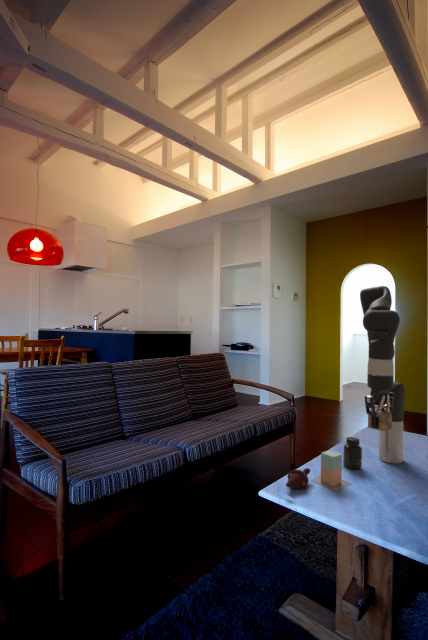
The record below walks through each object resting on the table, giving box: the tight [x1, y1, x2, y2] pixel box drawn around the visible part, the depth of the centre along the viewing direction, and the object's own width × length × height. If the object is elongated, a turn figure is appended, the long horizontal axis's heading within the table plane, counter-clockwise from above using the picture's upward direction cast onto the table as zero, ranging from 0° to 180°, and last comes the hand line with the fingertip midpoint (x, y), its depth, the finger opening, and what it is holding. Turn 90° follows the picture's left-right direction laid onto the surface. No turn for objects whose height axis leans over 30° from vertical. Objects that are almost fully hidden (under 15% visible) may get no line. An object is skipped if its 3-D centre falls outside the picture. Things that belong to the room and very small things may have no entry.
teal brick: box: [320, 449, 343, 472], centre depth 125 cm, size 5×5×5 cm
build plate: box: [310, 475, 352, 492], centre depth 125 cm, size 10×10×1 cm
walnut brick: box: [367, 410, 392, 431], centre depth 112 cm, size 5×5×5 cm
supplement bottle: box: [342, 436, 363, 471], centre depth 139 cm, size 7×7×12 cm
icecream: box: [285, 467, 311, 491], centre depth 121 cm, size 7×7×15 cm
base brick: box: [320, 466, 343, 486], centre depth 125 cm, size 5×5×5 cm
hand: (379, 426), depth 112 cm, fingers closed on walnut brick, 5 cm apart
